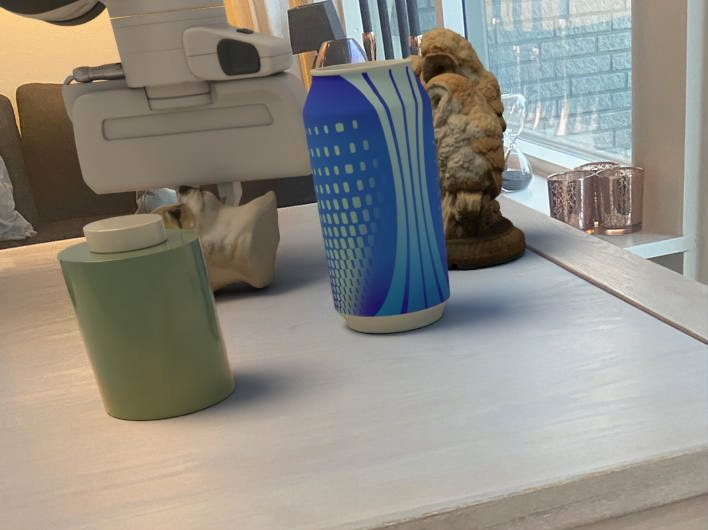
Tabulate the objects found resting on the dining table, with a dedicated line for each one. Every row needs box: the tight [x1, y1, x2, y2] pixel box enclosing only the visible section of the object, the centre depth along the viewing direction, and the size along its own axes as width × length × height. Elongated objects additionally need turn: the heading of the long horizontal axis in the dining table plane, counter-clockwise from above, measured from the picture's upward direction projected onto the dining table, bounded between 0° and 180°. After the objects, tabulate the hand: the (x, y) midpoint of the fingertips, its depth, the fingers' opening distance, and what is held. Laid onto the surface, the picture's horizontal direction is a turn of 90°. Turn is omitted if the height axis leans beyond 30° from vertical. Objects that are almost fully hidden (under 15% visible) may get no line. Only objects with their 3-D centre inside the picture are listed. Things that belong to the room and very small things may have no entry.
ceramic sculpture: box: [149, 185, 281, 293], centre depth 79 cm, size 11×9×15 cm
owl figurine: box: [405, 27, 527, 270], centre depth 82 cm, size 18×12×17 cm, turn 28°
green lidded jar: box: [56, 213, 236, 421], centre depth 57 cm, size 8×8×10 cm
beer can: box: [303, 58, 451, 334], centre depth 65 cm, size 8×8×16 cm
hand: (220, 240), depth 84 cm, fingers closed, pressing on ceramic sculpture
